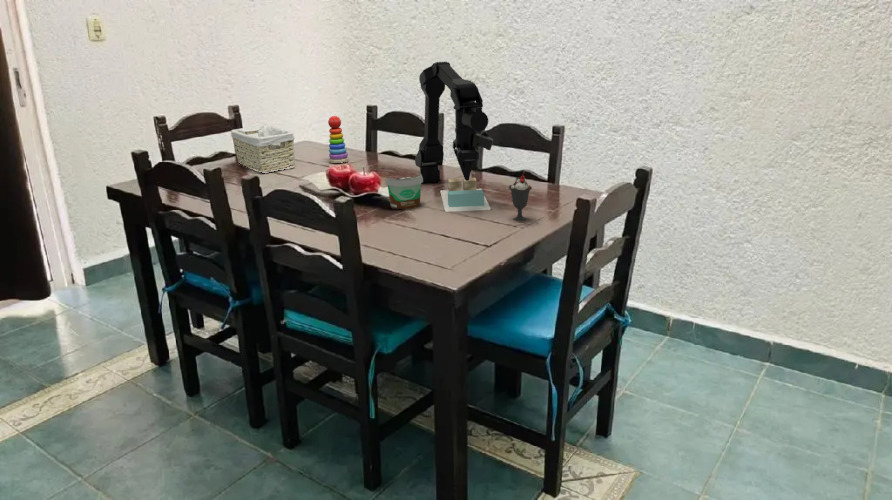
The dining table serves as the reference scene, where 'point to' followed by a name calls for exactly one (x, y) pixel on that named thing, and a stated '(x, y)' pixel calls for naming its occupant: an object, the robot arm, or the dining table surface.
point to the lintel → (466, 198)
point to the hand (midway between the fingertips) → (465, 176)
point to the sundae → (520, 195)
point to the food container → (405, 192)
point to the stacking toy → (336, 142)
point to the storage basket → (264, 147)
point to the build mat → (464, 208)
